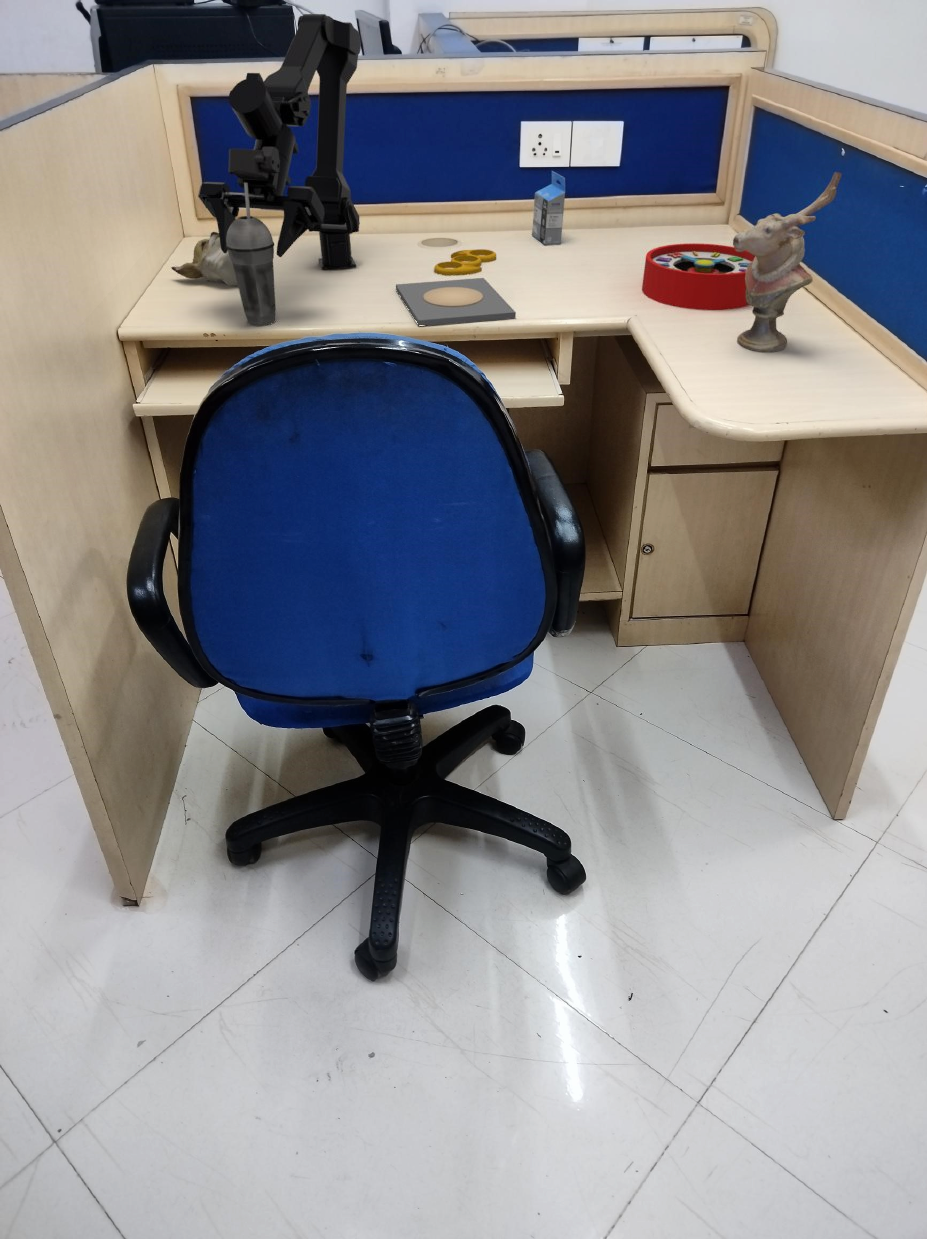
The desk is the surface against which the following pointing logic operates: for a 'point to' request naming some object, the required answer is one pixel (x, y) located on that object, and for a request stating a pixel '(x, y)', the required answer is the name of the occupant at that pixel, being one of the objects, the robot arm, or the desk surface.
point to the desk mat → (454, 302)
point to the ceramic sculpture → (209, 262)
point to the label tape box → (549, 212)
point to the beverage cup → (253, 266)
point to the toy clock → (697, 276)
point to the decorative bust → (775, 270)
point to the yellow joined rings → (465, 267)
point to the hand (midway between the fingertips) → (251, 253)
